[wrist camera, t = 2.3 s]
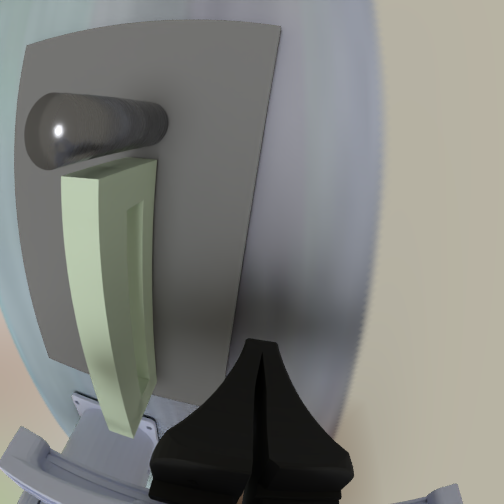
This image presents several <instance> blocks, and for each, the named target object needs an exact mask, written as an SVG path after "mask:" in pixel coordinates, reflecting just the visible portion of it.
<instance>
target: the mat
mask: <svg viewBox="0 0 504 504" xmlns="http://www.w3.org/2000/svg"><path fill="white" fill-rule="evenodd" d="M280 33H281V26H276V25H269V24H261V23H252V22H241V21H226V20H161V21H147V22H136V23H127V24H119V25H112V26H105V27H99V28H94V29H88V30H83V31H79V32H74V33H70V34H65V35H61V36H57V37H54V38H50V39H46V40H43V41H39V42H36V43H33V44H30V45H27V46H26V51H25V56H24V61H23V66H22V72H21V78H20V85H19V92H18V101H17V111H16V124H15V146H14V174H15V196H16V209H17V220H18V228H19V236H20V243H21V250H22V256H23V262H24V267H25V272H26V277H27V282H28V286H29V291H30V295H31V299H32V303H33V307H34V311H35V315H36V318H37V322H38V325H39V328H40V332H41V335H42V338H43V341H44V344H45V347H46V350H47V353H48V356H49V358H51V359H53V360H55V361H58V362H60V363H62V364H65V365H67V366H70V367H72V368H75V369H77V370H80V371H82V372H85V373H88V374H90V373H89V370H88V366H87V363H86V359H85V355H84V352H83V348H82V344H81V340H80V335H79V331H78V327H77V322H76V317H75V312H74V307H73V302H72V296H71V290H70V284H69V278H68V271H67V263H66V255H65V246H64V235H63V222H62V203H61V176H63V175H66V174H69V173H73V172H76V171H79V170H82V169H85V168H89V167H92V166H96V165H99V164H103V163H106V162H110V161H114V160H117V159H121V158H125V157H132V158H144V159H155V160H157V166H156V179H155V193H154V211H153V237H152V307H153V332H154V350H155V364H156V376H157V383H156V385H155V388H154V390H153V392H152V395H156V396H160V397H164V398H168V399H172V400H176V401H180V402H184V403H189V404H193V405H198V406H201V405H202V404H203V403H204V402H205V401H206V400H207V399H208V398H209V397H210V396H211V395H212V394H213V393H214V392H215V391H216V390H217V389H218V387H219V386H220V385H221V384H222V382H223V381H224V380H225V374H226V368H227V361H228V354H229V348H230V341H231V334H232V328H233V321H234V315H235V308H236V302H237V295H238V289H239V282H240V276H241V270H242V263H243V257H244V251H245V244H246V238H247V232H248V225H249V219H250V213H251V207H252V200H253V194H254V188H255V182H256V176H257V169H258V163H259V157H260V151H261V145H262V139H263V133H264V127H265V121H266V115H267V109H268V103H269V97H270V91H271V85H272V79H273V73H274V67H275V62H276V56H277V50H278V44H279V38H280ZM53 92H59V93H76V94H88V95H99V96H109V97H117V98H125V99H133V100H140V101H146V102H153V103H156V104H159V105H160V106H162V107H163V108H164V109H165V111H166V113H167V115H168V119H169V126H168V130H167V133H166V135H165V137H164V138H163V139H162V140H161V141H160V142H159V143H157V144H155V145H153V146H149V147H143V148H138V149H133V150H129V151H124V152H119V153H115V154H110V155H106V156H102V157H98V158H94V159H90V160H86V161H82V162H78V163H75V164H71V165H67V166H64V167H60V168H57V169H53V170H43V169H41V168H39V167H37V166H36V165H35V164H34V163H33V162H32V161H31V159H30V157H29V156H28V153H27V151H26V147H25V141H24V130H25V124H26V120H27V117H28V114H29V112H30V110H31V108H32V107H33V105H34V104H35V103H36V102H37V101H38V100H39V99H40V98H41V97H42V96H44V95H46V94H48V93H53Z"/></svg>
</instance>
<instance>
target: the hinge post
mask: <svg viewBox="0 0 504 504" xmlns="http://www.w3.org/2000/svg"><path fill="white" fill-rule="evenodd" d="M168 126H169V119H168V115H167V113H166V111H165V109H164V108H163V107H162V106H160V105H159V104H156V103H153V102H146V101H140V100H133V99H125V98H117V97H109V96H99V95H88V94H76V93H59V92H53V93H48V94H46V95H44V96H42V97H41V98H40V99H39V100H38V101H37V102H36V103H35V104H34V105H33V107H32V108H31V110H30V112H29V114H28V117H27V120H26V124H25V130H24V141H25V147H26V151H27V153H28V156H29V157H30V159H31V161H32V162H33V163H34V164H35V165H36V166H37V167H39V168H41V169H43V170H53V169H57V168H60V167H64V166H67V165H71V164H75V163H78V162H82V161H86V160H90V159H94V158H98V157H102V156H106V155H110V154H115V153H119V152H124V151H129V150H133V149H138V148H143V147H149V146H153V145H155V144H157V143H159V142H160V141H161V140H162V139H163V138H164V137H165V135H166V133H167V130H168Z"/></svg>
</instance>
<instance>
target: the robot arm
mask: <svg viewBox="0 0 504 504" xmlns="http://www.w3.org/2000/svg"><path fill="white" fill-rule="evenodd" d="M71 397H72V399H73V402H74V404H75V406H76V409H77V411H78V413H79V415H80V417H81V418H80V420H79V421H78V423H77V425H76V427H75V429H74V431H73V432H72V434H71V436H70V438H69V440H68V442H67V444H66V446H65V448H64V450H63V451H62V453H61V454H60V453H58V452H56V451H54V450H52V449H51V448H50V446H49V445H48V443H47V442H46V441H45V440H44V439H43V438H41V437H40V436H38V435H36V434H34V433H33V432H31V431H29V430H28V429H26V428H24V427H22V426H21V427H20V428H19V430H18V431H17V433H16V434H15V436H14V437H13V439H12V441H11V442H10V444H9V446H8V447H7V449H6V451H5V452H4V454H3V456H2V457H1V459H0V469H1V470H2V471H3V472H4V473H5V474H6V475H8V477H10V478H11V479H12V480H13V481H14V482H15V483H16V484H18V485H19V486H20V487H21V488H22V489H24V491H23V493H22V495H21V497H20V499H19V501H18V503H17V504H237V501H238V499H239V497H240V496H241V495H242V493H243V491H244V495H243V501H242V504H339V500H340V499H341V489H343V488H344V487H345V486H346V485H347V484H348V483H349V482H350V481H351V480H352V479H353V477H354V471H353V466H352V462H351V459H350V456H349V453H348V452H347V451H346V450H345V449H343V448H342V447H341V446H340V445H339V444H337V443H336V442H335V441H334V440H333V439H332V438H331V437H330V436H329V435H328V434H327V433H326V432H325V431H324V430H323V428H322V427H321V426H320V425H319V424H318V423H317V421H316V420H315V419H314V418H313V416H312V415H311V414H310V412H309V411H308V410H307V408H306V407H305V405H304V404H303V402H302V400H301V399H300V397H299V395H298V394H297V392H296V390H295V388H294V386H293V384H292V382H291V380H290V378H289V375H288V373H287V371H286V369H285V366H284V363H283V361H282V358H281V355H280V352H279V348H278V344H277V343H276V342H269V341H263V340H256V339H250V338H248V339H246V341H245V345H244V348H243V350H242V352H241V354H240V357H239V358H238V360H237V362H236V364H235V365H234V367H233V369H232V370H231V371H230V373H229V374H228V376H227V377H226V378H225V380H224V381H223V382H222V384H221V385H220V386H219V387H218V389H217V390H216V391H215V392H214V393H213V394H212V395H211V396H210V397H209V398H208V399H207V400H206V401H205V402H204V403H203V404H202V405H201V406H200V407H199V408H198V409H197V410H195V411H194V412H193V413H192V414H190V415H189V416H188V417H187V418H185V419H184V420H183V421H181V422H180V423H178V424H177V425H175V426H173V427H172V428H170V429H169V430H167V431H166V433H165V434H164V435H163V436H162V438H161V439H160V441H158V435H157V429H156V423H155V422H154V421H153V420H152V419H149V418H145V417H142V419H141V421H140V424H139V426H138V429H137V431H136V434H135V436H134V439H133V438H130V437H127V436H124V435H121V434H118V433H115V432H112V431H110V430H109V428H108V426H107V423H106V421H105V418H104V415H103V413H102V410H101V407H100V404H99V402H97V401H95V400H92V399H90V398H87V397H85V396H82V395H80V394H77V393H73V394H72V396H71ZM150 471H151V472H152V476H153V480H152V483H151V487H150V489H148V488H145V487H146V484H147V481H148V478H149V474H150ZM393 504H463V502H462V498H461V495H460V491H459V488H458V484H452V485H449V486H445V487H442V488H439V489H436V490H434V491H433V492H431V493H430V494H428V495H427V496H426V497H422V498H418V499H414V500H409V501H404V502H399V503H393Z"/></svg>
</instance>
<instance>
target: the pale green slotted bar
mask: <svg viewBox="0 0 504 504" xmlns="http://www.w3.org/2000/svg"><path fill="white" fill-rule="evenodd" d="M156 166H157V160H155V159H144V158H132V157H125V158H121V159H117V160H114V161H110V162H106V163H103V164H99V165H96V166H92V167H89V168H85V169H82V170H79V171H76V172H73V173H69V174H66V175H63V176H61V203H62V222H63V235H64V246H65V255H66V263H67V271H68V278H69V284H70V290H71V296H72V302H73V307H74V312H75V317H76V322H77V327H78V331H79V335H80V340H81V344H82V348H83V352H84V355H85V359H86V363H87V366H88V370H89V373H90V377H91V380H92V383H93V386H94V389H95V392H96V395H97V398H98V401H99V404H100V407H101V410H102V413H103V415H104V418H105V421H106V423H107V426H108V428H109V430H110V431H112V432H115V433H118V434H121V435H124V436H127V437H130V438H133V439H134V436H135V434H136V431H137V429H138V426H139V424H140V421H141V419H142V417H143V414H144V412H145V409H146V407H147V404H148V402H149V400H150V397H151V395H152V392H153V390H154V388H155V385H156V383H157V376H156V364H155V350H154V332H153V307H152V237H153V211H154V193H155V179H156Z"/></svg>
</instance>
